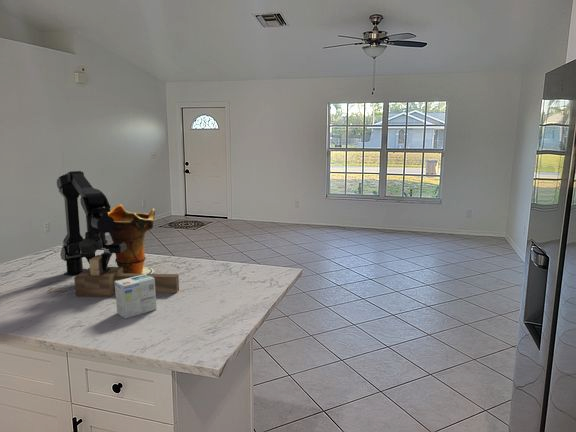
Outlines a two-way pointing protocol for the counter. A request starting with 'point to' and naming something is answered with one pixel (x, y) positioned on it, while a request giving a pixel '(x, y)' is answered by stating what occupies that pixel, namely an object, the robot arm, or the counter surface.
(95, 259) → the tan cardboard block
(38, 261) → the counter surface
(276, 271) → the counter surface
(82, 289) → the wooden block stand
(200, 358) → the counter surface
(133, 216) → the decorative vase
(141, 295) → the light bulb box
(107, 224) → the robot arm
